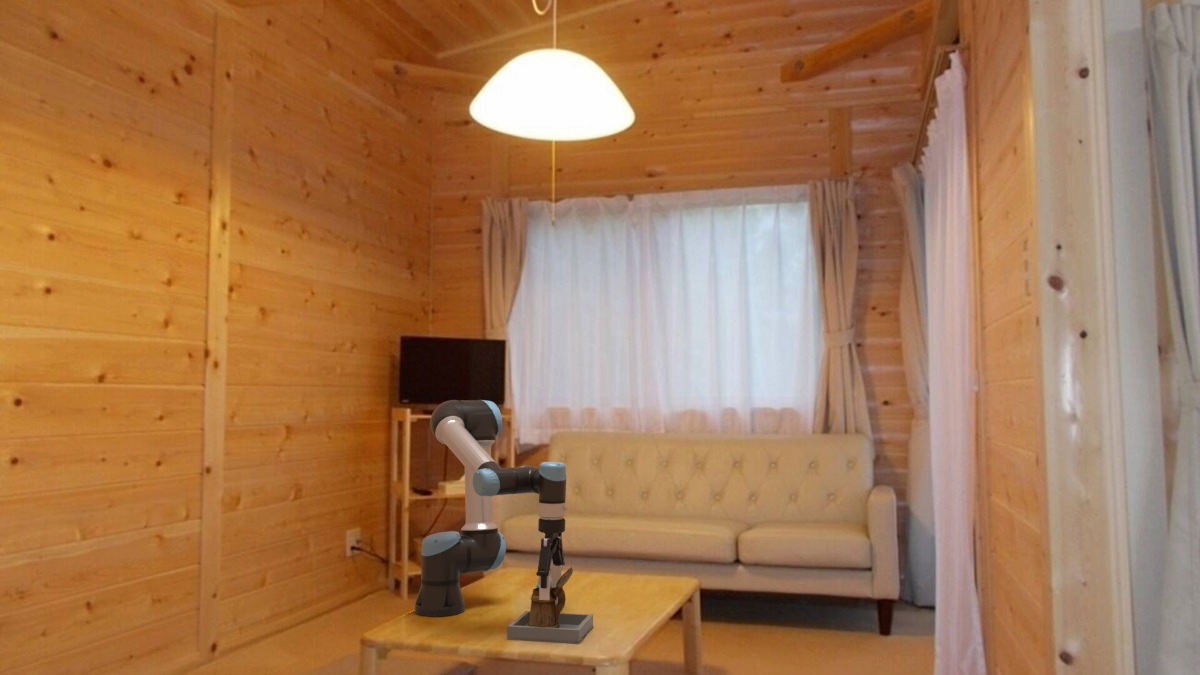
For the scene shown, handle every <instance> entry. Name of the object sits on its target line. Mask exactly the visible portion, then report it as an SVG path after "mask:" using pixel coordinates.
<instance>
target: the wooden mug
mask: <svg viewBox="0 0 1200 675" xmlns="http://www.w3.org/2000/svg"><path fill="white" fill-rule="evenodd" d="M573 571H574V569H573V567H570V568H569V569H567V570H566V571H565V572H564V573H562V576H561V578H560V579H559V580H558V582H557V584H556V587H553V588H550V599H549V600H539V588H536V587H534V588H533V589H532V594H531V596H530V601H531V602H530V610H529V611H530V616H529V623H528V625H527V626H533V627H551V628H560V624H559V622H558V617H559V614H560V613H562V611H563V609H564V607H565V604H566V592H565V590H564V588H563V587H564V586H565V585H566V583H567V582H568V581H569V579H570V578H571V577H572V575H573ZM556 596H557V597H558V598H559V600H560V603H559V605H558V606H557V605H556V602H555V601H556V600H557V597H556Z"/></svg>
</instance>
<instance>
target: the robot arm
mask: <svg viewBox="0 0 1200 675" xmlns="http://www.w3.org/2000/svg"><path fill="white" fill-rule="evenodd" d="M429 422H430V423H429V424H430V429H431V433H432V435H433V437H435V439H436V440H437V441H438V442H439V443H441V444H442V445H443V444H444V445H446V446H447V447H448V449H449V450H450V451H451V453H453V454H454V456H455V457H456V458H457V459H458V460H459V461H460V463H461V464H462V465H463V467H464V502H465V524H464V525H463V526H462V527H461V529H460V532H459V531H455V530H450V531H449V530H448V531H440V532H436V533H432V534H429V535H428V536H427V535H426V537H425V538H423V540H422V543H421V551H420V555H421V556H420V557H421V559H420V560H421V561H420V563H421V564H420V565H421V569H420V570H421V571H420V572H421V573H420V574H421V575H420V576H421V577H420V579H421V580H420V588H419V591H418V593H417V594H418V595H417V597H416V600H415V603H414V613H415V614H417V615H420V616H423V617H424V616H427V617H446V616H447V617H448V616H454V615H458V614H462V613H463V612H465V609H466V606H465V604H466V603H465V599H464V596H463V592H462V589H461V586H460V585H461V584H460V575H463V574H469V573H478V572H488V571H491V570H495V569H497V568H499V567H500V566H501V565H502V563H503V561H505V560H504V559H505V557H506V552H507V543H506V539H505V537H504V534H503V533H502V532H500V531H499V527H498V525H497V524H495V523H494V515H493V514H494V512H493V497H495V496H504V495H522V494H538V517H539V518H538V528H537V529H538V532H540V533H544V537H543V538H542V537H541V539H540V551H539V559H538V564H537V565H538V566H537V571H536V576H537V577H539V576H540V582H539V600H549V599H550V576H549V572H550V566H551V561H552V560H553V566H552V588H553V587H556V584H557V582H558V580H559V579H560V578H561V576H562V575H563V570H562V566H561V565H563V566H565V564H566V561H565V556H564V555H565V554H564V547H563V540H562V538H563V537H562V535H563V533H564V532H565V531H566V519H565V517H566V511H567V510H568V506H567V505H566V498H567V494H566V492H567V469H566V468H567V466H566V464H565V463H564V462H562V461H543V462H540V464H539V466H534V465H522V466H519V467H518V466H517V467H501V466H500V465H499V464H498V463H497V461H495V460H494V458H492V445H494V443H495V442H496V437H497V436H498V435H500V433H501V432H502V428H503V417H502V413H501V411H500V408H499V406H497V404H496V403H495V402H494V401H491V400H485V399H484V400H483V399H477V400H476V399H474V400H473V399H469V400H468V399H467V400H462V399H460V400H457V399H451V400H446V401H443V402H442V403H440V404H439V405H438V406H437V407H436V408H435V409H434V411H432V414H431V417H430V420H429ZM460 533H461V534H460Z"/></svg>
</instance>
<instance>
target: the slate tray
mask: <svg viewBox="0 0 1200 675" xmlns="http://www.w3.org/2000/svg"><path fill="white" fill-rule="evenodd" d="M529 616H530V610H526V611H524V612H523V613H522V614H520V615H519V616H518V617H517V618H515V619H514V620H513V621H512V622H511V623H509V624H508V625H507V626H506V629H507V630H506V635H507V636H506V637H507V638H506V640H510V641H511V640H512V641H513V640H514V641H526V642H527V641H529V642H546V643H559V644H560V643H561V644H578V645H579V644H580V643H581V642H582V641H583V640H584V638H585V637H586V636H587V635H588V634H589V633H590V632H591V630H592V628H594V614H593V613H591V614H590V613H576V612H575V613H574V612H571V613H570V612H560V614H559V617H558V622H559V624H560V628H551V627H533V626H527V625H528V623H529Z"/></svg>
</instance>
